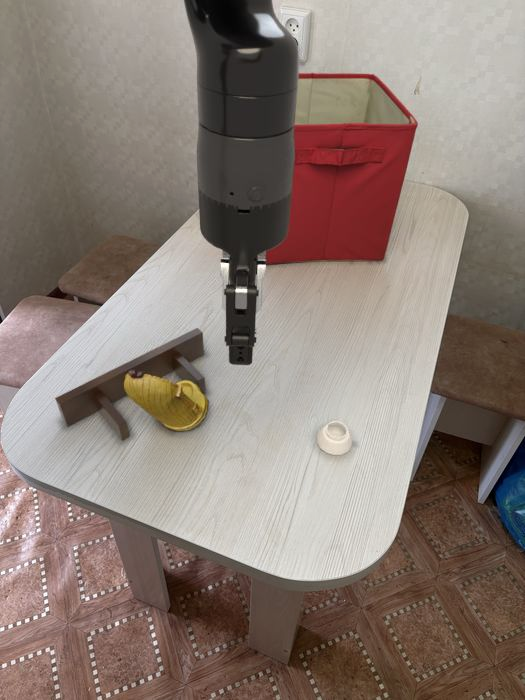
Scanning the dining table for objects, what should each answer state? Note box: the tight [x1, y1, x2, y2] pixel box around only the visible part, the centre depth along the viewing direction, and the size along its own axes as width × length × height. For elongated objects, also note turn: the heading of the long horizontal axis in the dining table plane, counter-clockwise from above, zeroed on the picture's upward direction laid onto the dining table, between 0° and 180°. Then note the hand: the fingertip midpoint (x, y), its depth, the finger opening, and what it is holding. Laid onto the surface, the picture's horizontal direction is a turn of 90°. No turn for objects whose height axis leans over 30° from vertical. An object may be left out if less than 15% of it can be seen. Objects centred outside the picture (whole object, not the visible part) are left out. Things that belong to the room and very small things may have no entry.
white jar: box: [316, 420, 353, 456], centre depth 71 cm, size 5×3×5 cm
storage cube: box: [265, 72, 419, 265], centre depth 105 cm, size 32×28×29 cm
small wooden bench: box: [54, 327, 206, 441], centre depth 75 cm, size 24×8×5 cm, turn 131°
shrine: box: [124, 370, 210, 432], centre depth 68 cm, size 12×8×15 cm
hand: (242, 332), depth 51 cm, fingers open, 8 cm apart
